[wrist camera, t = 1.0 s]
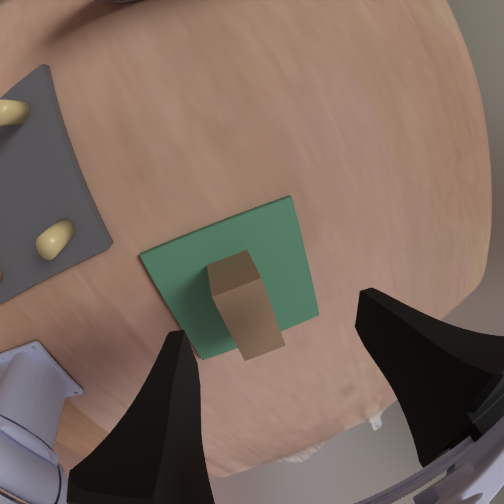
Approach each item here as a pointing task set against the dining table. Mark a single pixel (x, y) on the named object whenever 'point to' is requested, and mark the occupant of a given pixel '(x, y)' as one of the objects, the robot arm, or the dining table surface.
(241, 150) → the dining table surface
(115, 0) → the tin
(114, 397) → the dining table surface
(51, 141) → the chassis
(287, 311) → the board
